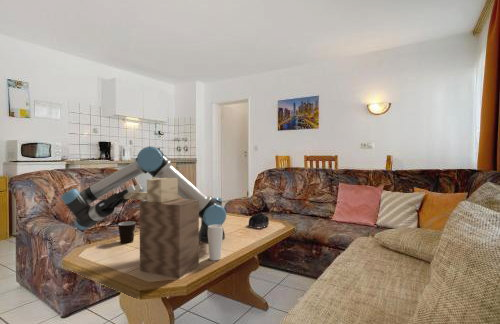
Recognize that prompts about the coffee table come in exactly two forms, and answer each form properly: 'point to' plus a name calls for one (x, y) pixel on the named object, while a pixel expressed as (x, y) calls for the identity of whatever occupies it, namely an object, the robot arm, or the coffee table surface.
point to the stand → (169, 237)
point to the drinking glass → (215, 241)
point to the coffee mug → (126, 232)
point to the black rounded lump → (258, 220)
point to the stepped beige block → (157, 191)
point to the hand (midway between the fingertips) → (136, 186)
